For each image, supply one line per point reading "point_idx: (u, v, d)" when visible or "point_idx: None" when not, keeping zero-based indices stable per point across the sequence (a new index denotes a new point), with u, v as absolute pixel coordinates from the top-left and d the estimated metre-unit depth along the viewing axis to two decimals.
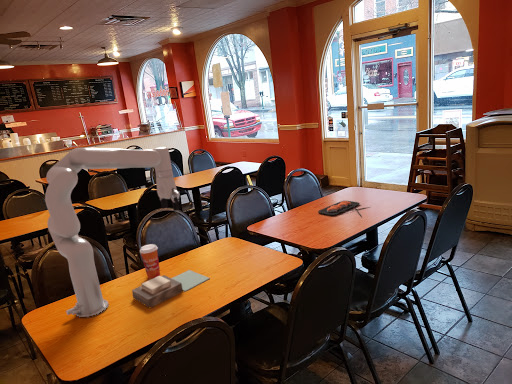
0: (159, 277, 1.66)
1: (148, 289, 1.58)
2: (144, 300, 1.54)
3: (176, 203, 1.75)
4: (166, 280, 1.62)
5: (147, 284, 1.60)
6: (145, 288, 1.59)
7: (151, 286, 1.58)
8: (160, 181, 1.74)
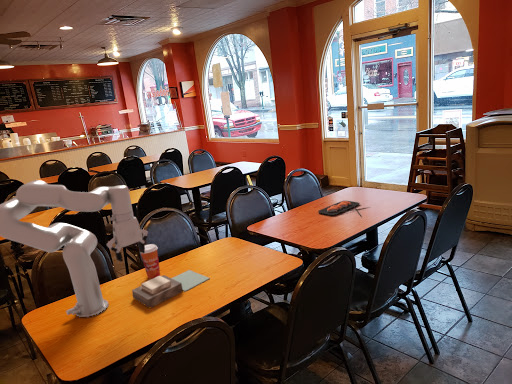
0: (159, 277, 1.66)
1: (148, 289, 1.58)
2: (144, 300, 1.54)
3: None
4: (166, 280, 1.62)
5: (147, 284, 1.60)
6: (145, 288, 1.59)
7: (151, 286, 1.58)
8: (128, 225, 1.48)
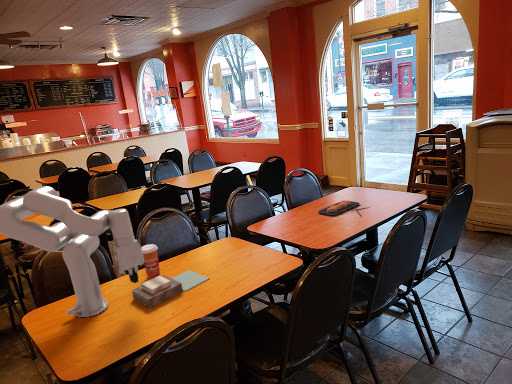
0: (159, 277, 1.66)
1: (148, 289, 1.58)
2: (144, 300, 1.54)
3: None
4: (166, 280, 1.62)
5: (147, 284, 1.60)
6: (145, 288, 1.59)
7: (151, 286, 1.58)
8: (129, 248, 1.48)
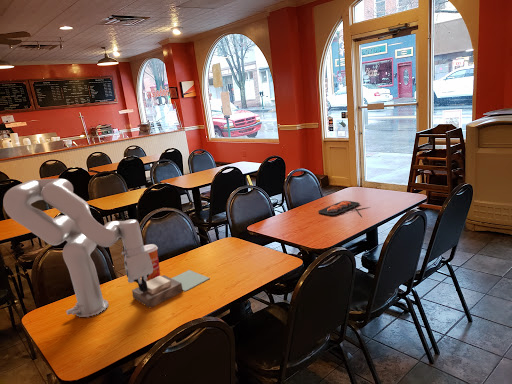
0: (159, 277, 1.66)
1: (148, 289, 1.58)
2: (144, 300, 1.54)
3: None
4: (166, 280, 1.62)
5: (147, 284, 1.60)
6: None
7: (151, 286, 1.58)
8: (139, 258, 1.52)
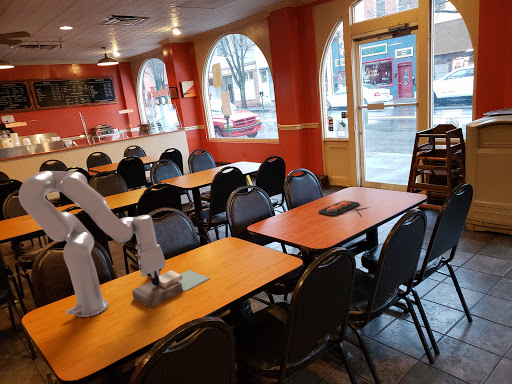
0: (170, 271, 1.70)
1: (160, 283, 1.62)
2: (144, 300, 1.54)
3: None
4: (177, 274, 1.66)
5: (159, 278, 1.65)
6: None
7: (163, 280, 1.62)
8: (152, 252, 1.56)
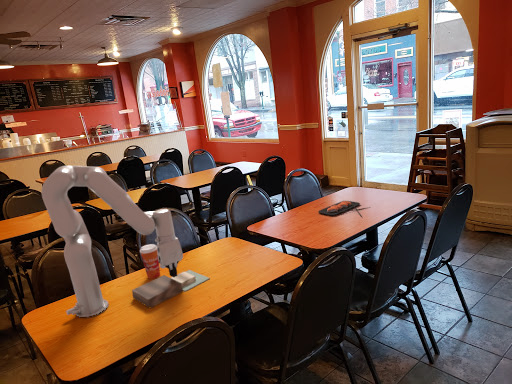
0: (183, 272, 1.76)
1: None
2: (144, 300, 1.54)
3: None
4: (190, 275, 1.72)
5: None
6: None
7: None
8: (171, 245, 1.62)
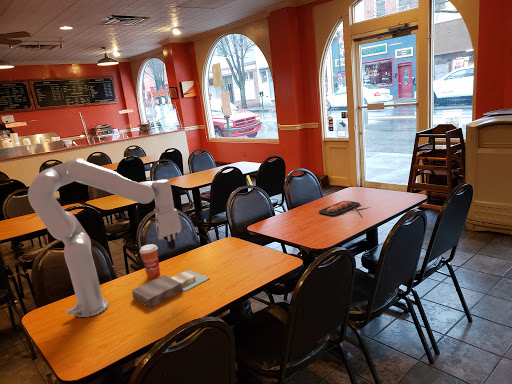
0: (183, 272, 1.76)
1: None
2: (144, 300, 1.54)
3: None
4: (190, 275, 1.72)
5: None
6: None
7: None
8: (169, 216, 1.60)
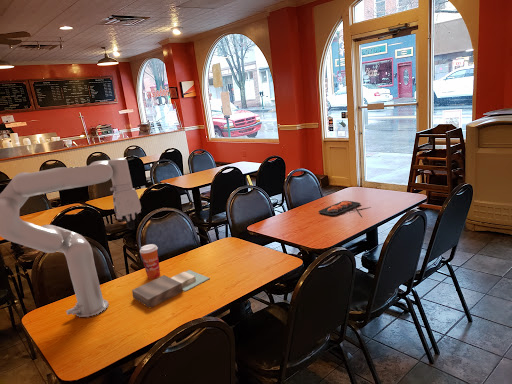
0: (183, 272, 1.76)
1: None
2: (144, 300, 1.54)
3: None
4: (190, 275, 1.72)
5: None
6: None
7: None
8: (127, 195, 1.57)
